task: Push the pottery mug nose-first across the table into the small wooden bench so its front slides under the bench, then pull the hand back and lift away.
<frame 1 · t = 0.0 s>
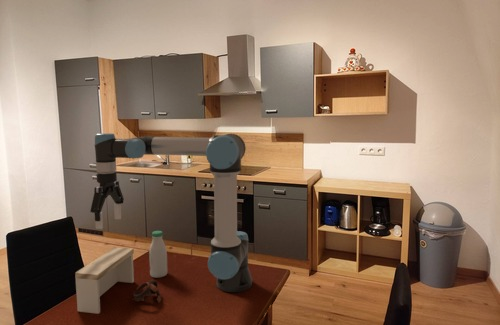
hand: (109, 223, 152), 28 cm above the table, tool pointing down, fingers open, 13 cm apart
milk bottle: (158, 274, 169), on the table
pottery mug: (149, 300, 147), on the table
small wooden bench: (109, 295, 150), on the table
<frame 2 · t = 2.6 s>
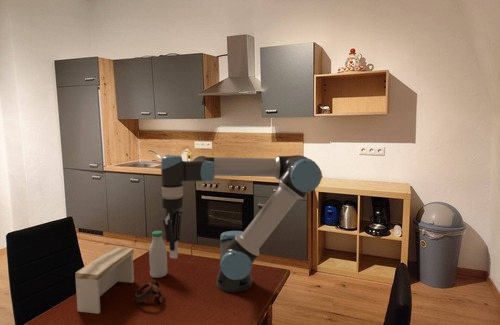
hand: (173, 257, 142), 18 cm above the table, tool pointing down, fingers closed
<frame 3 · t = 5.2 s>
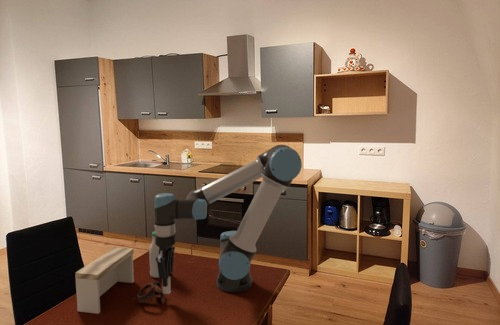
hand: (166, 292, 145), 4 cm above the table, tool pointing down, fingers closed
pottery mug: (153, 301, 146), on the table, touching gripper
everything else where it was.
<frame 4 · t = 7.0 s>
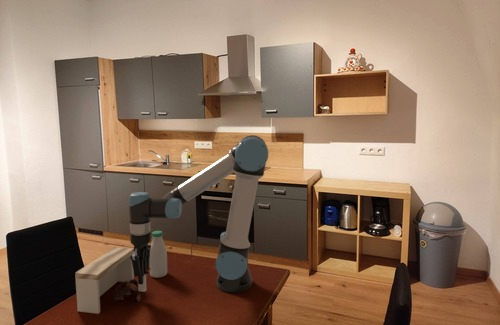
hand: (142, 290, 147), 4 cm above the table, tool pointing down, fingers closed
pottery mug: (129, 299, 147), on the table, touching gripper
everything else where it was.
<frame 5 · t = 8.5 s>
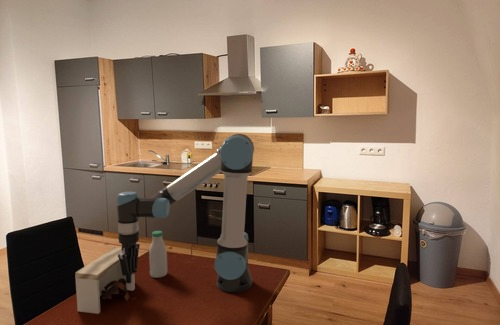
hand: (130, 289, 148), 4 cm above the table, tool pointing down, fingers closed
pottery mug: (117, 298, 148), on the table, touching gripper
everything else where it was.
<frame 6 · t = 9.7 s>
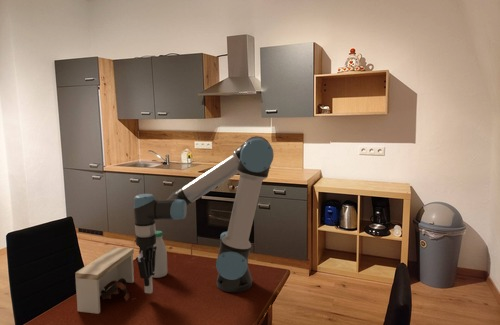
hand: (148, 292, 146), 3 cm above the table, tool pointing down, fingers closed
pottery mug: (117, 298, 148), on the table
everything else where it was.
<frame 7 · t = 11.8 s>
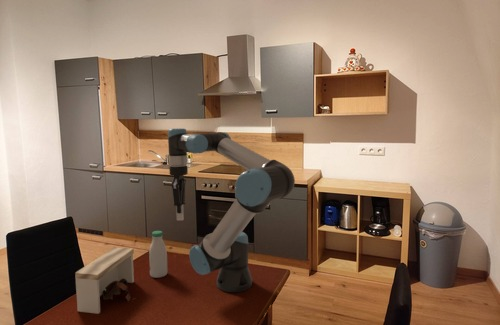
hand: (180, 219, 160), 27 cm above the table, tool pointing down, fingers closed
nothing on the table moved.
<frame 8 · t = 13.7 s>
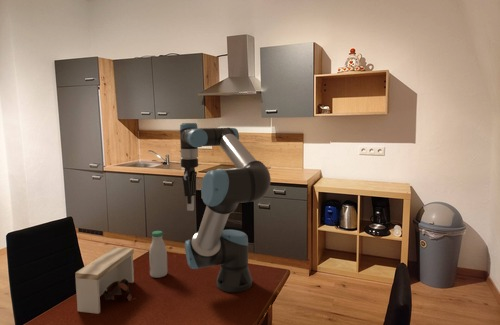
hand: (190, 210, 168), 29 cm above the table, tool pointing down, fingers closed
at the end: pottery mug inside the target area (2.0 cm from its centre), on the table; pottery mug tilted 1°; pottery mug moved 11.8 cm from its start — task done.
